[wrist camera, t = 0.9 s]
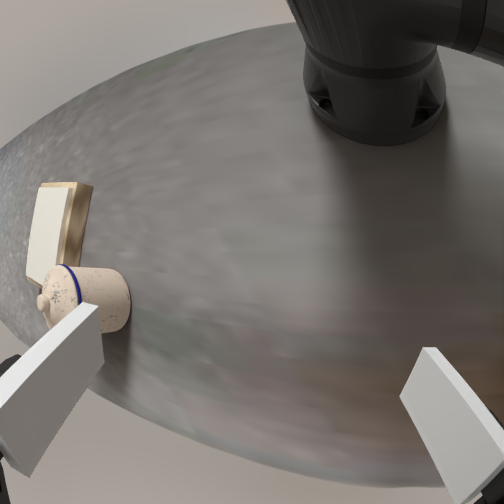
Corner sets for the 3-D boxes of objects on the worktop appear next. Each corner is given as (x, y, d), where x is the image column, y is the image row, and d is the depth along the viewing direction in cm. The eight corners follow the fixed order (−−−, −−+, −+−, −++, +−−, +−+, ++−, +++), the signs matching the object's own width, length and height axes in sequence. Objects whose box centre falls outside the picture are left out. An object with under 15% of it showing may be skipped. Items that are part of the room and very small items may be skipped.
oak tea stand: (54, 186, 46) (38, 182, 43) (93, 186, 41) (73, 180, 37) (40, 279, 46) (23, 278, 43) (75, 299, 41) (55, 300, 37)
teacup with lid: (97, 259, 39) (29, 254, 28) (138, 277, 35) (61, 275, 25) (87, 335, 39) (23, 343, 28) (125, 362, 36) (55, 379, 25)
